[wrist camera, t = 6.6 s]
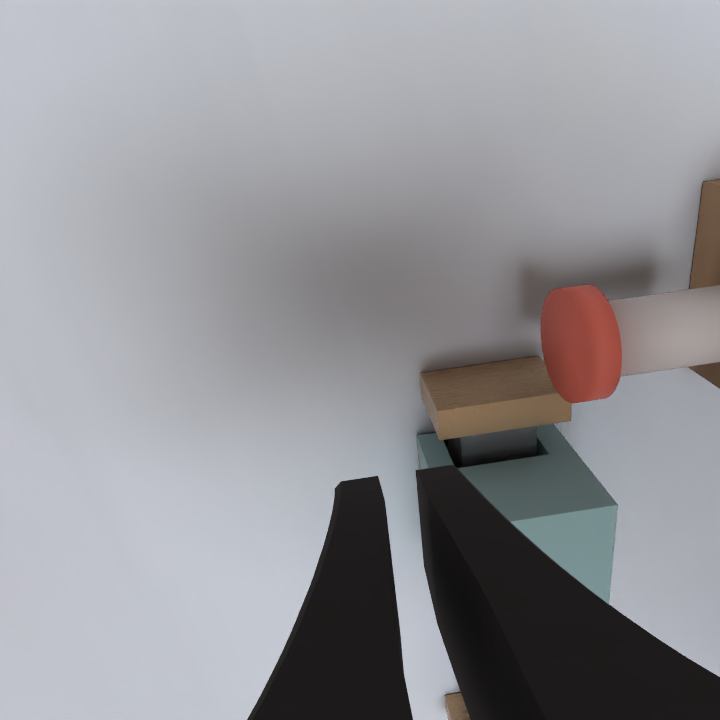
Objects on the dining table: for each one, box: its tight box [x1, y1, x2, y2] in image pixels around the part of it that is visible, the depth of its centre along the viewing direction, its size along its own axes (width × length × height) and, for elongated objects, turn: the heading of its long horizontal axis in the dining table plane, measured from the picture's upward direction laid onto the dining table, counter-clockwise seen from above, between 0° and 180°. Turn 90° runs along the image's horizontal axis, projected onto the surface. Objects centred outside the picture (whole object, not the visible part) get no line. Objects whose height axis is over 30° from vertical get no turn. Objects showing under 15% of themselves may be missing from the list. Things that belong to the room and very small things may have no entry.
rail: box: [420, 356, 572, 720], centre depth 21 cm, size 4×17×3 cm, turn 7°
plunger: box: [541, 284, 720, 403], centre depth 15 cm, size 5×3×3 cm, turn 97°
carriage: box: [417, 423, 618, 604], centre depth 19 cm, size 5×5×5 cm
